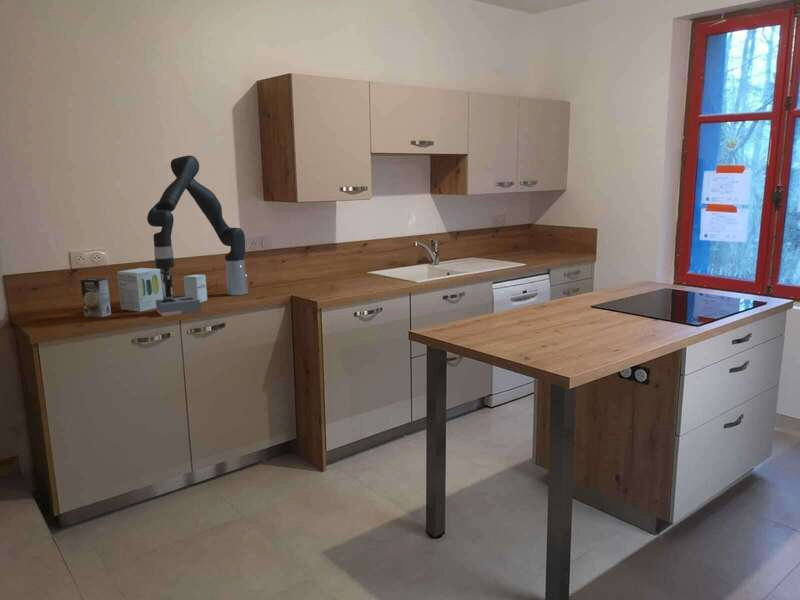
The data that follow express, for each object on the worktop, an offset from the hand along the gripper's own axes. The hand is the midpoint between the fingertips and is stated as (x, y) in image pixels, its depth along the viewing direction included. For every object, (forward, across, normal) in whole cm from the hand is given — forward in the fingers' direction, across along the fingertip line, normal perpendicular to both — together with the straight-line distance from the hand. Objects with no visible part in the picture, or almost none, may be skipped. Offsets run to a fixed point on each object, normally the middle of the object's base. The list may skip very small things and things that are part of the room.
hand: (167, 296), depth 275 cm
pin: (+3, 0, 0) cm, 3 cm away
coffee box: (+8, +13, +27) cm, 31 cm away
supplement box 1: (+7, +19, +8) cm, 22 cm away
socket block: (+7, 0, -4) cm, 8 cm away
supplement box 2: (+7, +19, -16) cm, 26 cm away
